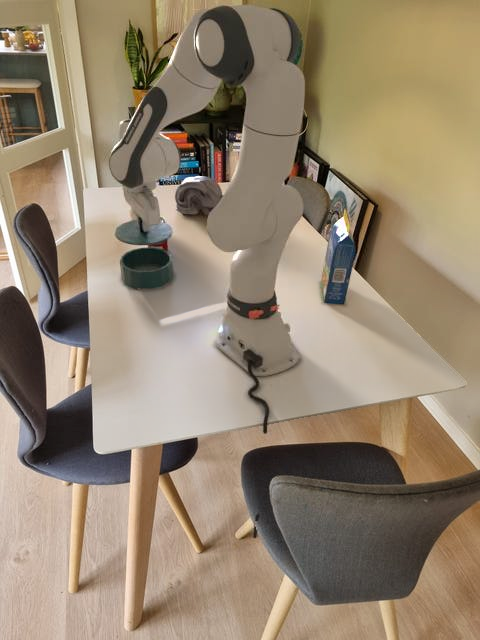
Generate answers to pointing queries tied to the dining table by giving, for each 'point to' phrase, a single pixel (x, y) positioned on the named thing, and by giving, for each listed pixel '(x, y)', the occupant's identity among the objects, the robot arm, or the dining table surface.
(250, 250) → the robot arm
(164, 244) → the soda can
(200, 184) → the grey cloth bundle
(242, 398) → the dining table surface
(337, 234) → the blue food package
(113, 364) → the dining table surface
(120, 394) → the dining table surface
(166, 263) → the pan
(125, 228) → the pan lid
